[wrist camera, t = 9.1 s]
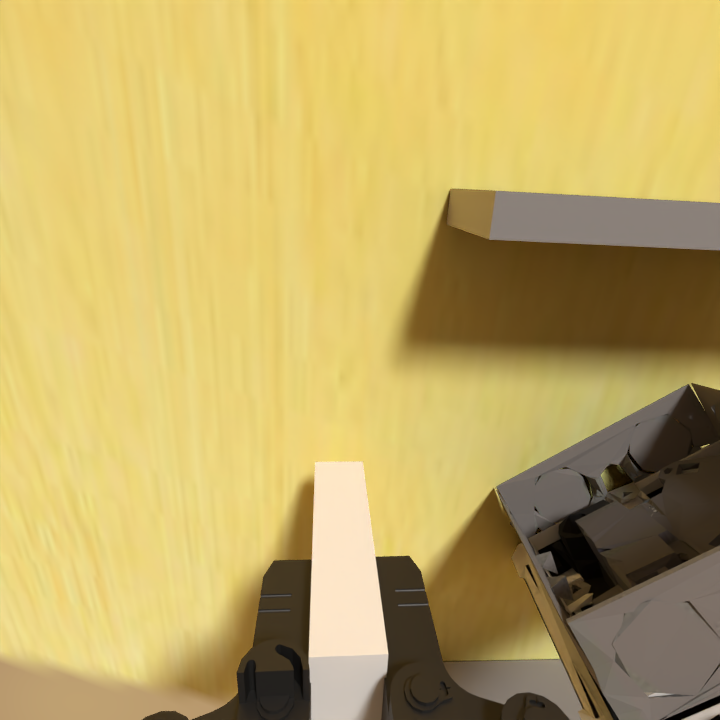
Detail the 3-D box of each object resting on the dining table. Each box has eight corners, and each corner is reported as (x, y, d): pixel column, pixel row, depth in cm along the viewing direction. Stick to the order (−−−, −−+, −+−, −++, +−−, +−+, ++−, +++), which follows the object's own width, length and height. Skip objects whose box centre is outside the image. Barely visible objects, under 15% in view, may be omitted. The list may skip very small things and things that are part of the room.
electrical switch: (515, 563, 19) (661, 866, 10) (452, 463, 18) (554, 705, 9) (741, 448, 18) (1138, 675, 9) (690, 333, 17) (1090, 458, 8)
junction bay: (450, 188, 14) (496, 190, 10) (951, 216, 15) (1157, 227, 11) (396, 679, 21) (411, 789, 17) (743, 670, 22) (828, 771, 18)
